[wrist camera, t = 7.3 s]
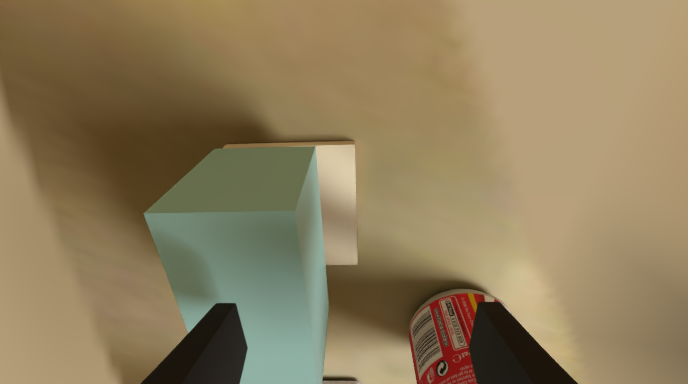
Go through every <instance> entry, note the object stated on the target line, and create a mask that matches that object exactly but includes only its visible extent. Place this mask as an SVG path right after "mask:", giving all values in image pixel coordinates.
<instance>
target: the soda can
mask: <svg viewBox="0 0 688 384" xmlns="http://www.w3.org/2000/svg"><path fill="white" fill-rule="evenodd" d="M478 302H500V303H501V304H502V305H503V306H504V307H505V308H506V309H507V310H508V311H509V309H508V308H507V306H506V305H505V304H504V303H503V302H502V301H500V300H499V299H497V298H496V297H494V296H491V295H489V294H486V293H483V292H480V291H477V290H472V289H453V290H448V291H444V292H441V293H439V294H436V295H434V296H433V297H431V298H429V299H428V300H427V301H426V302H424V303H423V304H422V305H421V307H420V308H419V309H418V310H417V311H416V313H415V314H414V316H413V317H412V319H411V322H410V326H409V340H410V346H411V352H412V357H413V363H414V369H415V375H416V380H417V384H477V381H476V377H475V373H474V369H473V365H472V361H471V357H470V353H469V349H468V348H469V343H470V338H471V334H472V329H473V324H474V319H475V314H476V310H477V305H478ZM509 312H510V311H509ZM510 313H511V312H510Z"/></svg>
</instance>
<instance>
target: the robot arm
mask: <svg viewBox="0 0 688 384" xmlns="http://www.w3.org/2000/svg"><path fill="white" fill-rule="evenodd" d="M247 349H248V347H247V343H246V339H245V336H244V332H243V328H242V324H241V320H240V317H239V313H238V309H237V305H236V303H216V304H215V305H214V306H213V307H212V308H211V309H210V310H209V311H208V312H207V313H206V314H205V316H204V317H203V318H202V319H201V320H200V321H199V322H198V323H197V324H196V325H195V327H194V328H193V329H192V330H191V331H190V332H189V333H188V334H187V335H186V337H185V338H184V339H183V340H182V341H181V342H180V343H179V344H178V345H177V346H176V347H175V348H174V350H173V351H172V352H171V353H170V354H169V355H168V356H167V357H166V358H165V359H164V360H163V361H162V362H161V363H160V364H159V365H158V367H157V368H156V369H155V370H154V371H153V372H152V373H151V374H150V375H149V376H148V377H147V378H146V379H145V380H144V381H143V382H142V383H141V384H240V380H241V376H242V372H243V368H244V363H245V359H246V354H247ZM468 349H469V353H470V357H471V361H472V365H473V369H474V373H475V377H476V381H477V384H578V383H577V382H576V381H575V380H574V379H573V378H572V377H571V376H570V375H569V374H568V373H567V372H566V371H565V370H564V369H563V368H562V367H561V366H560V365H559V364H558V363H557V362H556V361H555V360H554V359H553V358H552V357H551V356H550V355H549V354H548V353H547V352H546V351H545V350H544V349H543V348H542V347H541V346H540V345H539V344H538V342H537V341H536V340H535V339H534V338H533V337H532V336H531V335H530V334H529V333H528V332H527V331H526V330H525V329H524V328H523V326H522V325H521V324H520V323H519V322H518V321H517V320H516V319H515V318H514V317H513V316H512V314H511V313H510V312H509V311H508V310H507V309H506V308H505V307H504V306H503V305H502V304H501V303H500V302H478V305H477V310H476V314H475V319H474V324H473V329H472V334H471V338H470V343H469V348H468ZM322 384H360V383H359V382H357V381H322Z"/></svg>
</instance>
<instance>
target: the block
mask: <svg viewBox="0 0 688 384" xmlns="http://www.w3.org/2000/svg"><path fill="white" fill-rule="evenodd" d="M143 214H144V217H145V219H146V222H147V224H148V227H149V230H150V232H151V235H152V238H153V240H154V243H155V246H156V248H157V251H158V254H159V256H160V259H161V261H162V264H163V267H164V269H165V272H166V275H167V277H168V280H169V283H170V285H171V288H172V291H173V293H174V296H175V298H176V301H177V304H178V306H179V309H180V312H181V314H182V317H183V320H184V322H185V325H186V327H187V330H188V333H189V332H190V331H191V330H192V329H193V328H194V327H195V325H196V324H197V323H198V322H199V321H200V320H201V319H202V318H203V317H204V316H205V314H206V313H207V312H208V311H209V310H210V309H211V308H212V307H213V306H214V305H215V304H216V303H236V305H237V309H238V313H239V317H240V320H241V324H242V328H243V332H244V336H245V339H246V343H247V347H248V349H247V354H246V359H245V363H244V368H243V372H242V376H241V380H240V384H322V380H323V369H324V358H325V347H326V336H327V325H328V314H329V300H328V288H327V276H326V265H325V253H324V241H323V229H322V217H321V205H320V193H319V181H318V169H317V157H316V146H299V147H262V148H224V149H214V150H213V151H211V152H210V153H209V154H208V155H207V156H206V157H205V158H204V159H203V160H202V161H200V162H199V163H198V164H197V165H196V166H195V167H194V168H193V169H192V170H191V171H189V172H188V173H187V174H186V175H185V176H184V177H183V178H182V179H181V180H180V181H179V182H177V183H176V184H175V185H174V186H173V187H172V188H171V189H170V190H169V191H168V192H166V193H165V194H164V195H163V196H162V197H161V198H160V199H159V200H158V201H157V202H155V203H154V204H153V205H152V206H151V207H150V208H149V209H148V210H147V211H146V212H144V213H143Z"/></svg>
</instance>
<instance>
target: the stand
mask: <svg viewBox="0 0 688 384" xmlns="http://www.w3.org/2000/svg"><path fill="white" fill-rule="evenodd" d="M299 146H316V157H317V169H318V181H319V193H320V205H321V217H322V229H323V241H324V253H325V265H358V256H357V216H356V176H355V141H329V142H292V143H255V144H226V145H225V146H224V147H223V149H224V148H262V147H299Z"/></svg>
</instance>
